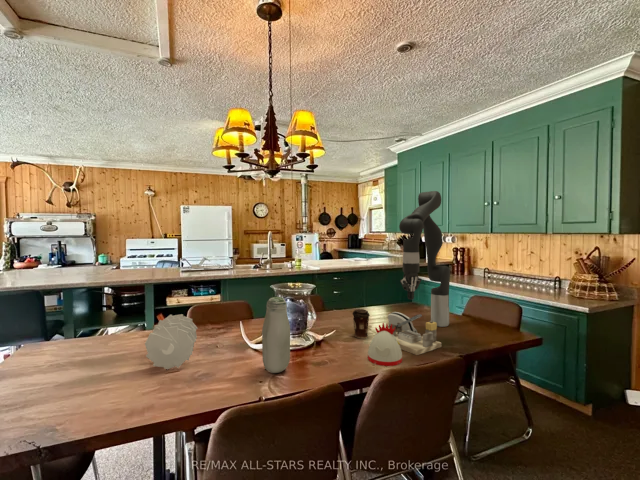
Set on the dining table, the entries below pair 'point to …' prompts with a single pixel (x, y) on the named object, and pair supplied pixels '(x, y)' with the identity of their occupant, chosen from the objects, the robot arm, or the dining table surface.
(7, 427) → the dining table surface
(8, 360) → the dining table surface
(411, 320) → the strap
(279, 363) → the glass bottle
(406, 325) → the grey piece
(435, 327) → the block
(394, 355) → the kitchen timer
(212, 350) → the dining table surface
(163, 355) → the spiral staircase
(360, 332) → the coffee cup
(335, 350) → the dining table surface
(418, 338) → the cream board with rail
